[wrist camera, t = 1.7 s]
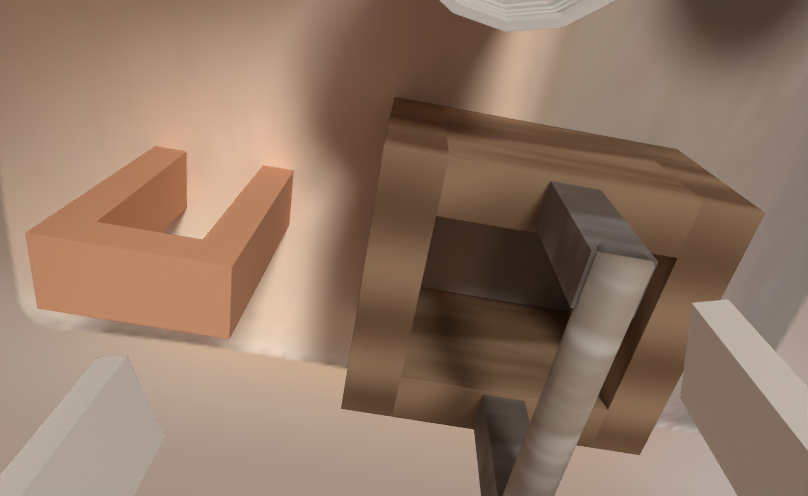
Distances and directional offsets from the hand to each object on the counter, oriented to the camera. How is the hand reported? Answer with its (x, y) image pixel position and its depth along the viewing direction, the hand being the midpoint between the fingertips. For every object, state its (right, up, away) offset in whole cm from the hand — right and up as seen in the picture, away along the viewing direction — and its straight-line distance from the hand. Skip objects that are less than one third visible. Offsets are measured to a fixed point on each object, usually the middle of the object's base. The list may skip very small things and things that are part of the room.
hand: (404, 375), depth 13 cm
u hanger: (-12, +7, +24) cm, 27 cm away
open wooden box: (+7, +4, +25) cm, 26 cm away
